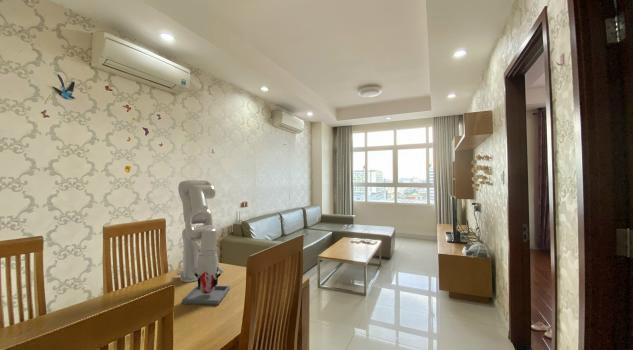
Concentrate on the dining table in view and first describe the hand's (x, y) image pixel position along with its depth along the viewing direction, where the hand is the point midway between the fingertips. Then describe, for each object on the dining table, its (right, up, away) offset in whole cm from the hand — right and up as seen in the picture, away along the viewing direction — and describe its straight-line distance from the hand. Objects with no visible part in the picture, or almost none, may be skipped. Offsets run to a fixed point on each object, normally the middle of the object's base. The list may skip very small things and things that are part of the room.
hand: (207, 285), depth 132 cm
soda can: (0, -3, 0) cm, 3 cm away
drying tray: (0, -6, 0) cm, 6 cm away
